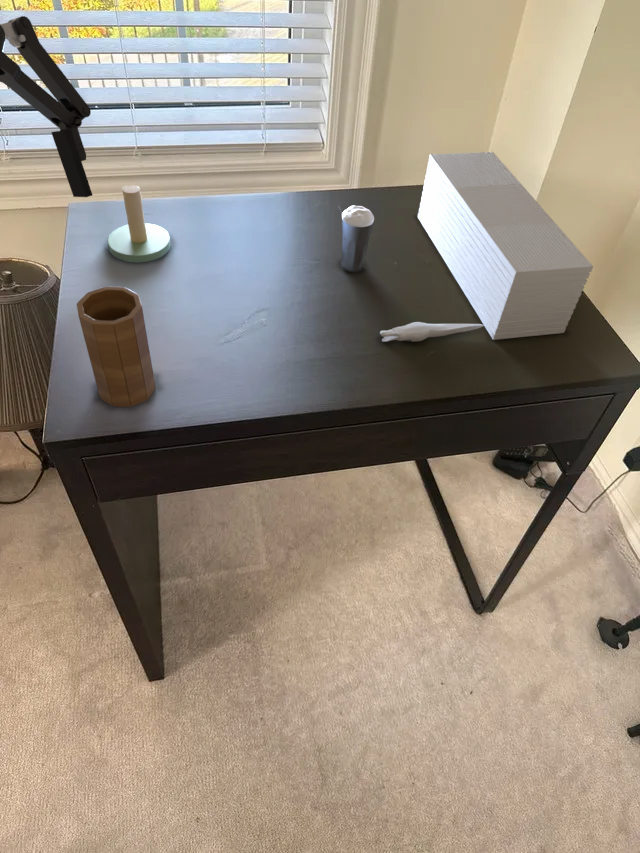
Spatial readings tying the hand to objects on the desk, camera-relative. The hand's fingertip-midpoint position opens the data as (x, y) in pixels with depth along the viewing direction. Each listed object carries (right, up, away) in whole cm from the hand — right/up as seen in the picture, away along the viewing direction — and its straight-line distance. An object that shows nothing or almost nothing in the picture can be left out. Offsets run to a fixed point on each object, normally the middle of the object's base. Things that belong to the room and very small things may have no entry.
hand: (25, 214), depth 65 cm
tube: (+7, -17, +11) cm, 21 cm away
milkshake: (+34, +2, +31) cm, 47 cm away
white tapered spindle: (+45, -9, +21) cm, 51 cm away
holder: (+3, +6, +31) cm, 32 cm away
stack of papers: (+55, +2, +33) cm, 64 cm away
